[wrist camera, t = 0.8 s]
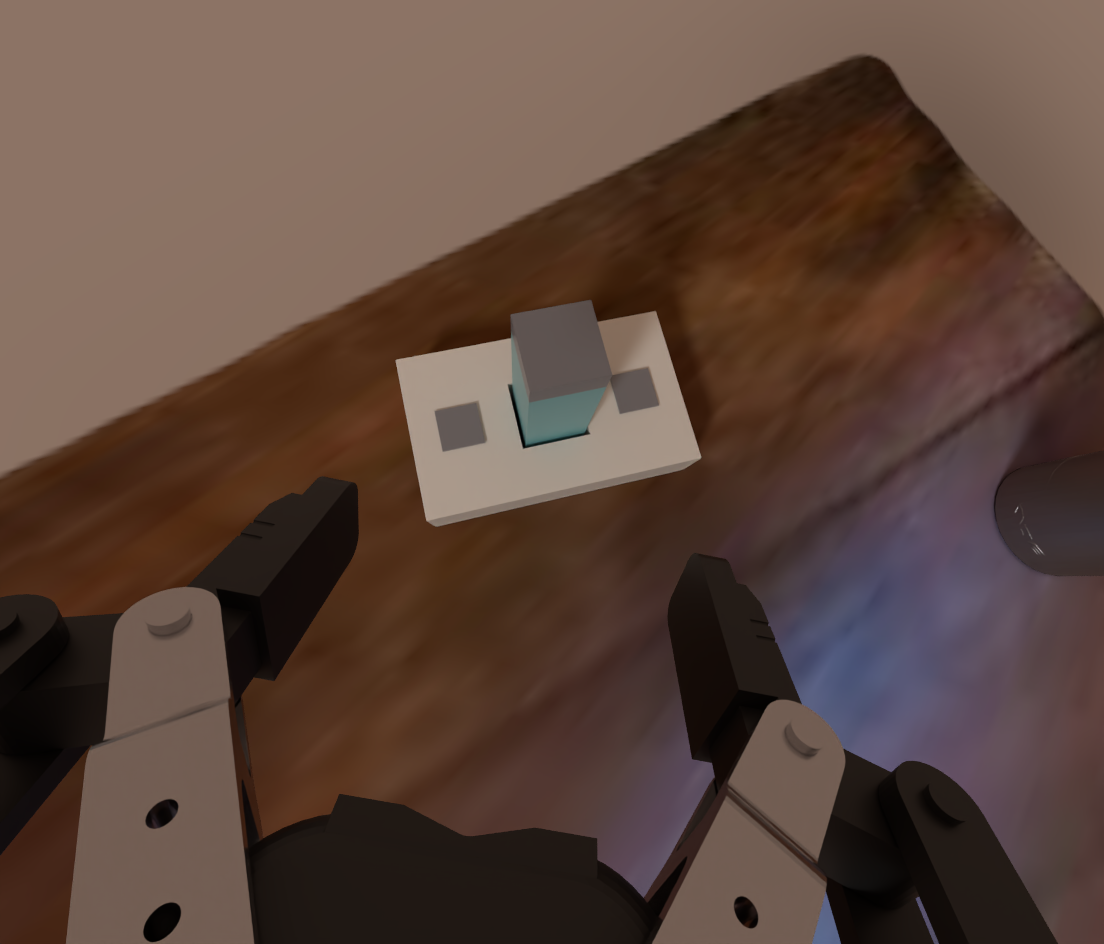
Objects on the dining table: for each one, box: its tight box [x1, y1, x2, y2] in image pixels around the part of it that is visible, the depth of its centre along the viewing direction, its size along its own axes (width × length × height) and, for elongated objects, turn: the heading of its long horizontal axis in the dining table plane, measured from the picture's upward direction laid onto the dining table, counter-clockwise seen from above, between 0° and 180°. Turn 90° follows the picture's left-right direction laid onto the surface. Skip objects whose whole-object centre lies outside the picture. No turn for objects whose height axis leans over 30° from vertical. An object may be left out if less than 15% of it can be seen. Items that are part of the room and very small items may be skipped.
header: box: [396, 311, 701, 527], centre depth 36 cm, size 20×12×4 cm, turn 104°
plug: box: [511, 300, 612, 449], centre depth 32 cm, size 4×4×14 cm
